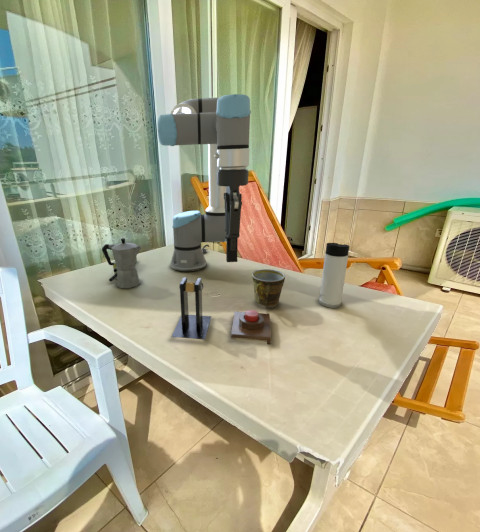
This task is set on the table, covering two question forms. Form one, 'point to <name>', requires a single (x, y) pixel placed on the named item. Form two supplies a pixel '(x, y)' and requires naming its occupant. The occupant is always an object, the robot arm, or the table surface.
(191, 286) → the switch lever
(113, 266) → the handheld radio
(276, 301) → the ceramic cup
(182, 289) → the switch bracket
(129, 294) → the table surface
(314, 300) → the table surface
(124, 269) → the coffeepot
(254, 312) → the button
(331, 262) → the travel mug
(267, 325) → the button block
